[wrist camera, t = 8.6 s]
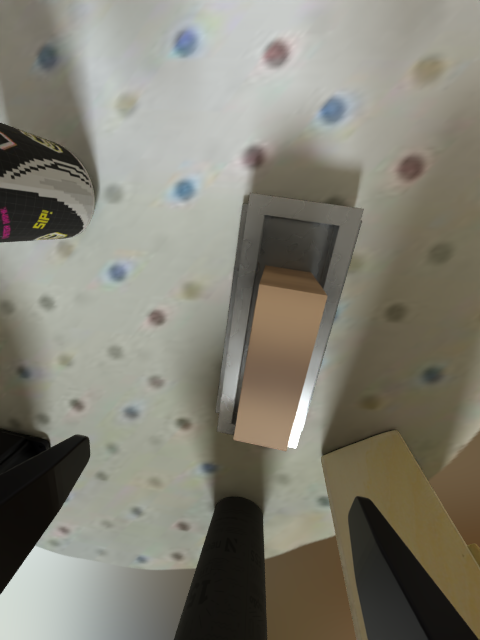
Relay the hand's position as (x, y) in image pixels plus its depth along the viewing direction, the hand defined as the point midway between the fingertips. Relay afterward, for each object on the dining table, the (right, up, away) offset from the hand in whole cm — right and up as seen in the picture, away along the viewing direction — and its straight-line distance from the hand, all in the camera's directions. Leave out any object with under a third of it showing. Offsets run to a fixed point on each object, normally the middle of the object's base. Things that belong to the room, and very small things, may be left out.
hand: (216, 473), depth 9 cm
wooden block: (+3, +4, +10) cm, 11 cm away
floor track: (+3, +4, +10) cm, 12 cm away
